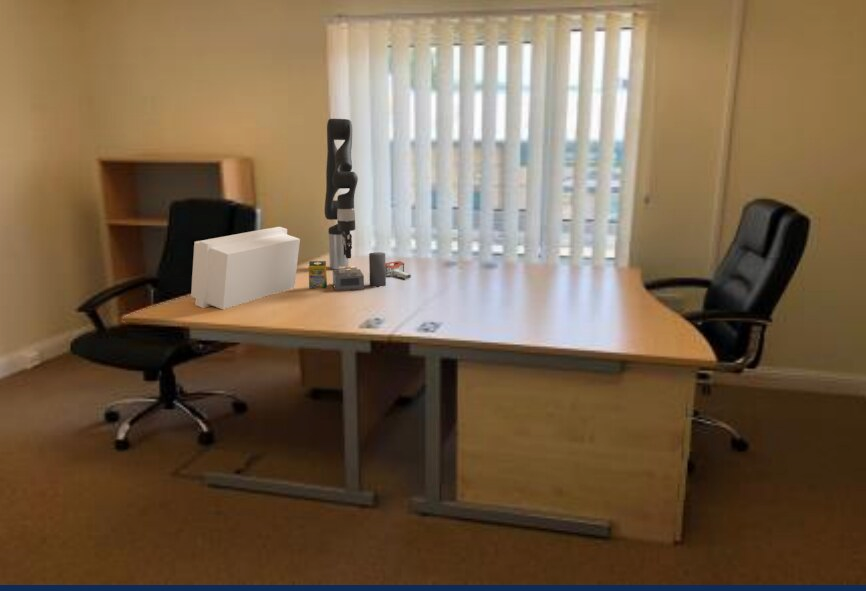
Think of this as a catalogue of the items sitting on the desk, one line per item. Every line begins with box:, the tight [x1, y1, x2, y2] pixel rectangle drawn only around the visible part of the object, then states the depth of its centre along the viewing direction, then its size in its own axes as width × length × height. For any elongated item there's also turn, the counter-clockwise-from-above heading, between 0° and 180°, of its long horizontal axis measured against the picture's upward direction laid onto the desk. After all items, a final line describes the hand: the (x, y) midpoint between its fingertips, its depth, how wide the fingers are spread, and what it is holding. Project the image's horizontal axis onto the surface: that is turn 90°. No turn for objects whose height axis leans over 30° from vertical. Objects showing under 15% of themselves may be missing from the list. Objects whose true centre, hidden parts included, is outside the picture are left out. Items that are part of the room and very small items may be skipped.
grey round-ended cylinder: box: [368, 251, 387, 288], centre depth 300 cm, size 7×7×14 cm
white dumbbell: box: [338, 265, 358, 273], centre depth 297 cm, size 1×8×3 cm, turn 103°
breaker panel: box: [332, 268, 365, 291], centre depth 298 cm, size 14×12×6 cm
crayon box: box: [308, 260, 328, 289], centre depth 295 cm, size 7×3×12 cm, turn 93°
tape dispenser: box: [385, 260, 412, 280], centre depth 322 cm, size 18×5×20 cm
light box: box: [190, 226, 301, 310], centre depth 279 cm, size 45×17×26 cm, turn 151°
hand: (347, 256), depth 296 cm, fingers open, 8 cm apart
